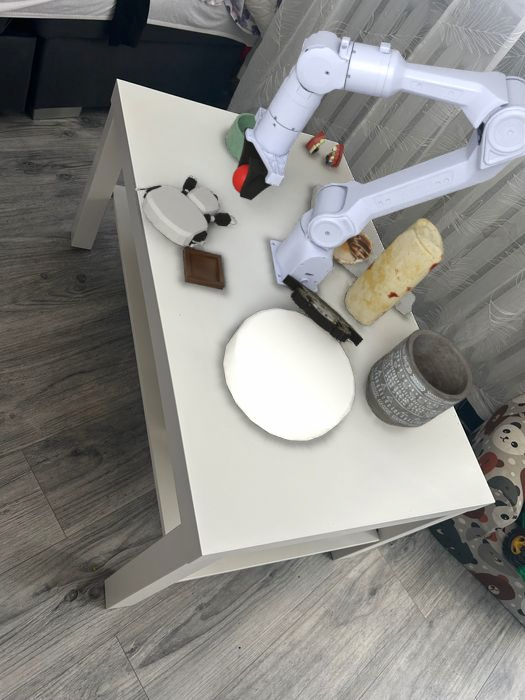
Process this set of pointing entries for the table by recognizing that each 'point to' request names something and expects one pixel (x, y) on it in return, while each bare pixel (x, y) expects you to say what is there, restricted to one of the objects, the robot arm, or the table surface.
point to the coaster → (203, 268)
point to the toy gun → (359, 268)
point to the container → (289, 374)
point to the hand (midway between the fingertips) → (243, 185)
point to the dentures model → (333, 157)
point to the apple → (239, 177)
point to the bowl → (239, 133)
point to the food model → (395, 272)
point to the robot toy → (184, 212)
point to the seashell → (354, 250)
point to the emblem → (321, 312)
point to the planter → (418, 380)
